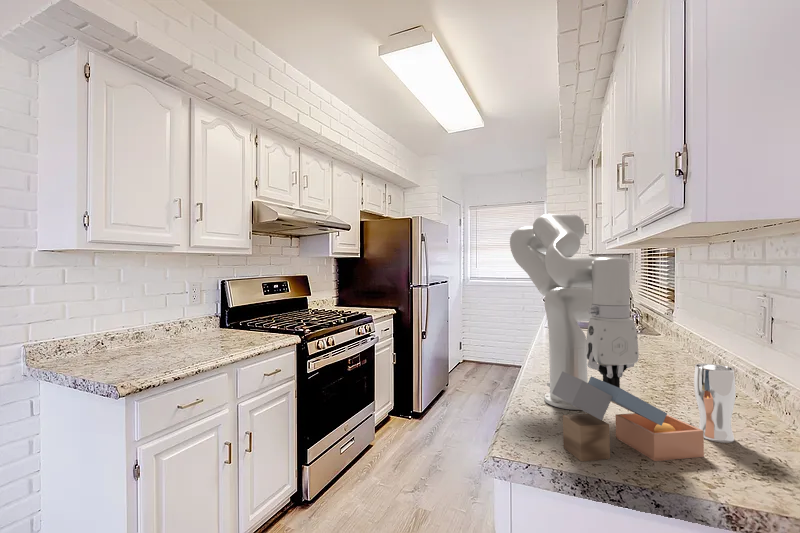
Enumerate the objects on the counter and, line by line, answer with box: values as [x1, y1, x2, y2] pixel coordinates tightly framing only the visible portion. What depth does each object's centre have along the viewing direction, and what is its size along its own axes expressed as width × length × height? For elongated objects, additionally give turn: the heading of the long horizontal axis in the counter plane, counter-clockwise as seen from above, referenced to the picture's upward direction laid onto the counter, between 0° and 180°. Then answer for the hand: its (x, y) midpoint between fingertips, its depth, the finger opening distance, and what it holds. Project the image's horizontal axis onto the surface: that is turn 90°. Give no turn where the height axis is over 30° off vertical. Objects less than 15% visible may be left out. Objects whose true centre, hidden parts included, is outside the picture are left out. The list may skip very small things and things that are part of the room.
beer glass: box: [693, 362, 737, 444], centre depth 85 cm, size 7×7×15 cm
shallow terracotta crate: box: [615, 412, 705, 462], centre depth 80 cm, size 11×11×5 cm
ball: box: [654, 423, 676, 433], centre depth 81 cm, size 4×4×4 cm
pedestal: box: [562, 412, 611, 462], centre depth 78 cm, size 6×6×7 cm
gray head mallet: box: [552, 371, 668, 426], centre depth 82 cm, size 19×15×7 cm
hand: (611, 393), depth 89 cm, fingers closed
